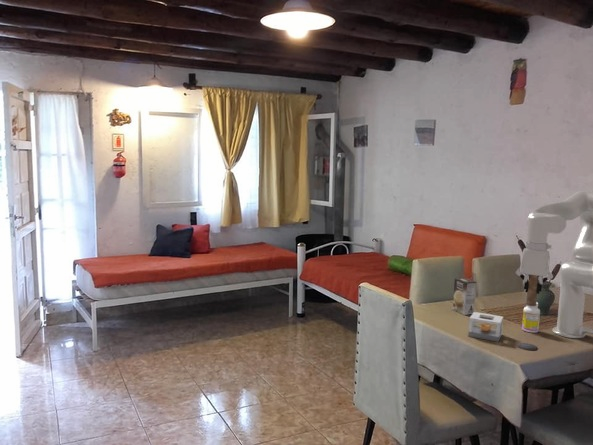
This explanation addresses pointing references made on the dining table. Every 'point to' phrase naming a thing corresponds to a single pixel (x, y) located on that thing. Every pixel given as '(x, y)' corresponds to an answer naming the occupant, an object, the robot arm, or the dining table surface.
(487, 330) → the orange hemisphere
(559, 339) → the dining table surface
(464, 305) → the coffee box
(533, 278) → the brown wooden rod
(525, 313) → the supplement bottle
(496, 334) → the white hollow box
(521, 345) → the mat
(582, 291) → the robot arm
